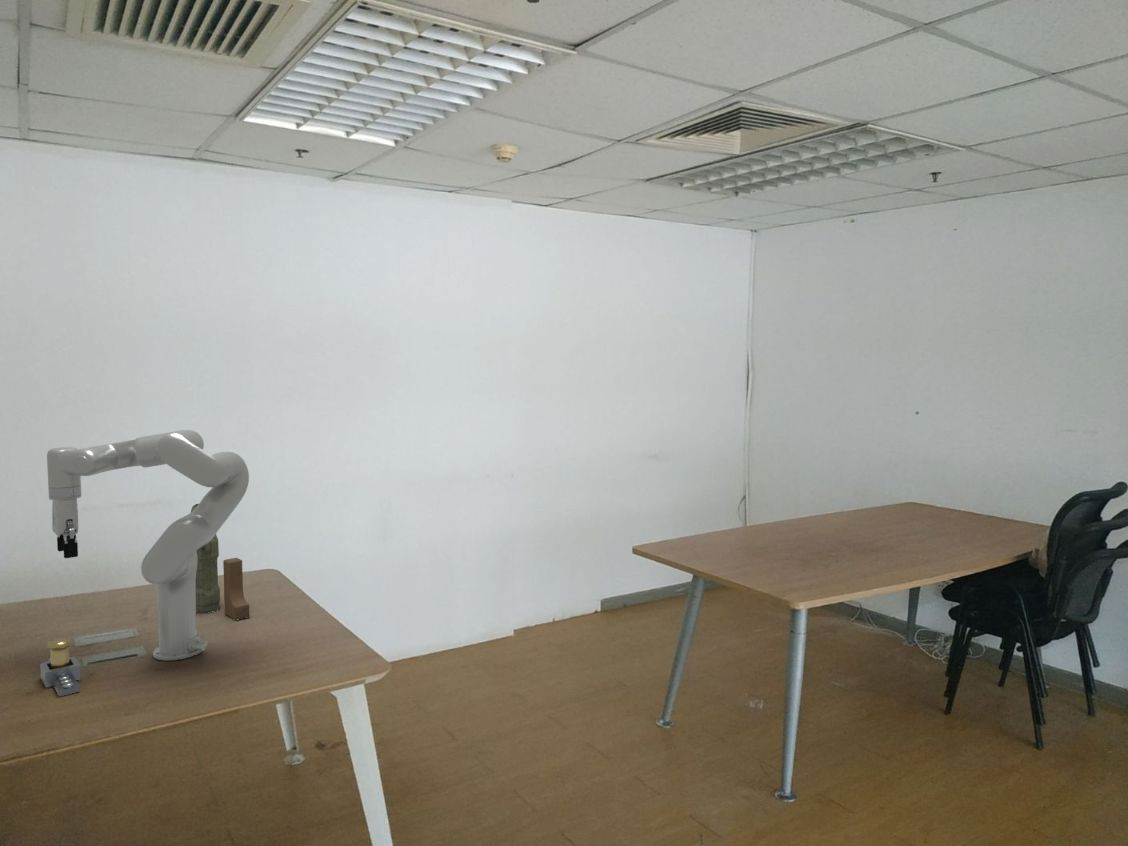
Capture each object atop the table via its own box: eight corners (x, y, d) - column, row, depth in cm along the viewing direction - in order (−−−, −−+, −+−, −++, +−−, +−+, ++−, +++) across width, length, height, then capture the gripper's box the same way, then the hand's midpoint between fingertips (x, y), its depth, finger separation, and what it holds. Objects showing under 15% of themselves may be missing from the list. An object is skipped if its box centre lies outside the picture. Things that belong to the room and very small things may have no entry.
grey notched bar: (87, 690, 192) (86, 674, 191) (51, 698, 187) (50, 682, 186) (69, 661, 209) (69, 647, 209) (36, 669, 204) (35, 654, 204)
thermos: (198, 616, 246) (194, 508, 243) (185, 608, 255) (182, 503, 252) (226, 610, 252) (223, 505, 250) (212, 602, 261) (210, 500, 258)
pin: (77, 676, 200) (75, 639, 199) (60, 684, 195) (58, 646, 194) (61, 674, 201) (59, 637, 200) (44, 682, 196) (42, 644, 195)
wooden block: (250, 617, 246) (248, 562, 244) (235, 621, 243) (234, 565, 241) (238, 611, 252) (236, 557, 251) (224, 614, 249) (222, 559, 248)
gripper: (43, 489, 215) (46, 550, 217) (54, 498, 203) (57, 562, 204) (75, 487, 220) (77, 546, 222) (87, 495, 208) (89, 557, 209)
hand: (67, 553), depth 213 cm, fingers open, 9 cm apart
